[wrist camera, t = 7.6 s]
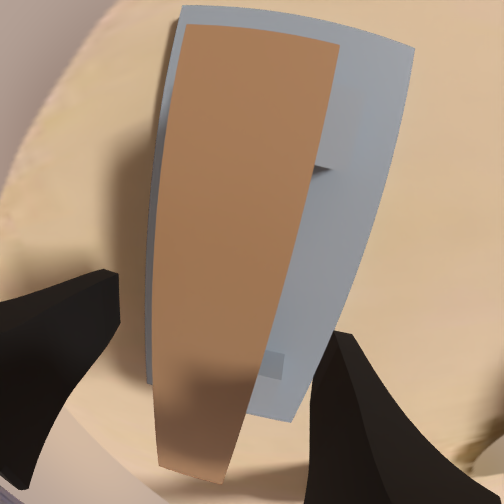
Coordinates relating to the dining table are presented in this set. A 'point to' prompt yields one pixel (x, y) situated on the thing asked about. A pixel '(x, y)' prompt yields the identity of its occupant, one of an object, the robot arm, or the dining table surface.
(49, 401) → the robot arm
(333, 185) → the display stand
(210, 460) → the brown bar
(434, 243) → the dining table surface
